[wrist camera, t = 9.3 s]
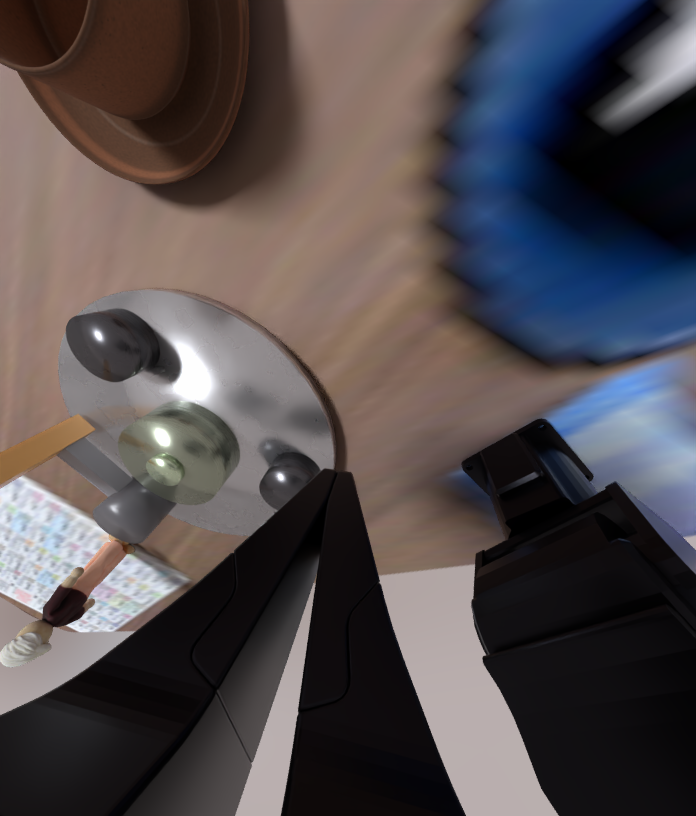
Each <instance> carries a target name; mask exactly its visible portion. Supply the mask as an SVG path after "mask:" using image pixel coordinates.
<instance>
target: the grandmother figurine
mask: <svg viewBox="0 0 696 816" xmlns="http://www.w3.org/2000/svg"><path fill="white" fill-rule="evenodd" d="M109 539H110V541H111V542H107V543H105V544H104V545H103V546H102V547H101V548H100V549H99V551H98V552H97V553H96V554H95V556H94V557H93V558H92V559H91V560H90V561H89V563H88V564H87V565H86V566H85V568H84V569H83V568H81V567H77V568H75V569H74V570H73V571H72V572H71V575H70V576H68V577H67V578H66V579H65V580H64V582H63V583H62V584H61V585H59V587H58V588H57V589H56V591H55V592H54V594H53V595H52V597H51V598H50V599H49V601H48V602H47V603H46V604H45V606H44V607H43V618H42V620H38V621H35V622H32V623H30V624H29V625H27V626H26V627H24V628H23V629H22V630H21V631H20V632H19V633H18V635H17V637H16V639H13V640H12V642H10V643H8V644H7V645H6V646H5V647H4V648H3V650H2V651H1V652H0V662H1V663H2V664H3V665H4V666H7V667H17V666H21V665H23V664H25V663H28V662H29V661H32V660H34V659H36V658H37V657H39V656H41V655H43V654H44V653H46V652H48V651H49V650H50V649H51V644H49V643H48V642H49V638H50V636H51V635H52V631H53V627H60V626H64V625H67V624H70V623H72V622H74V621H76V620H78V619H80V618H81V617H82V616H83V614H84V613H85V612H86V611H87V610H88V609H89V608H91V607H92V606H93V605H94V604H95V600H94V599H88V597H89V595H90V593H91V592H92V590H93V589H94V588H95V587H96V586H97V585H98V584H100V583H101V582H102V581H103V580H104V579H105V577H106V576H107V575H108V574H109V573H110V572H111V571H112V570H113V569H114V568H115V567H116V566H117V565H118V564H119V563H120V562H121V560H122V559H123V558H124V557H125V556H126V554H131V553H133V552H135V549H134V547H133V546H131V545H129V543H128V542H124V541H121V540H119V539H117V538H115V537H113V536H111V535H110V534H109ZM87 599H88V600H87Z"/></svg>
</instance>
